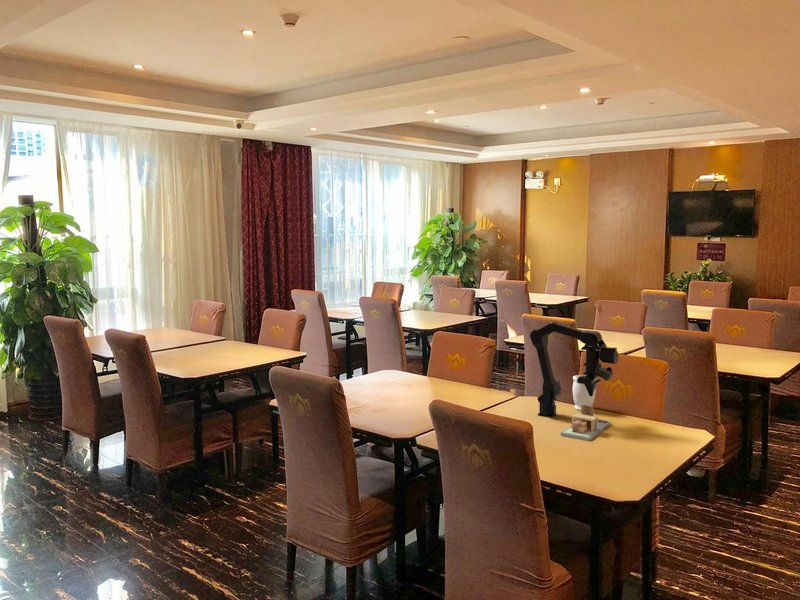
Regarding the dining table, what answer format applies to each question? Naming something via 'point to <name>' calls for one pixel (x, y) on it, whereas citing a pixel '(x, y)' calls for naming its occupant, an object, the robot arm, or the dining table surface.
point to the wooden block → (583, 424)
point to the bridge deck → (595, 429)
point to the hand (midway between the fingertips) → (591, 396)
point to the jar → (581, 394)
